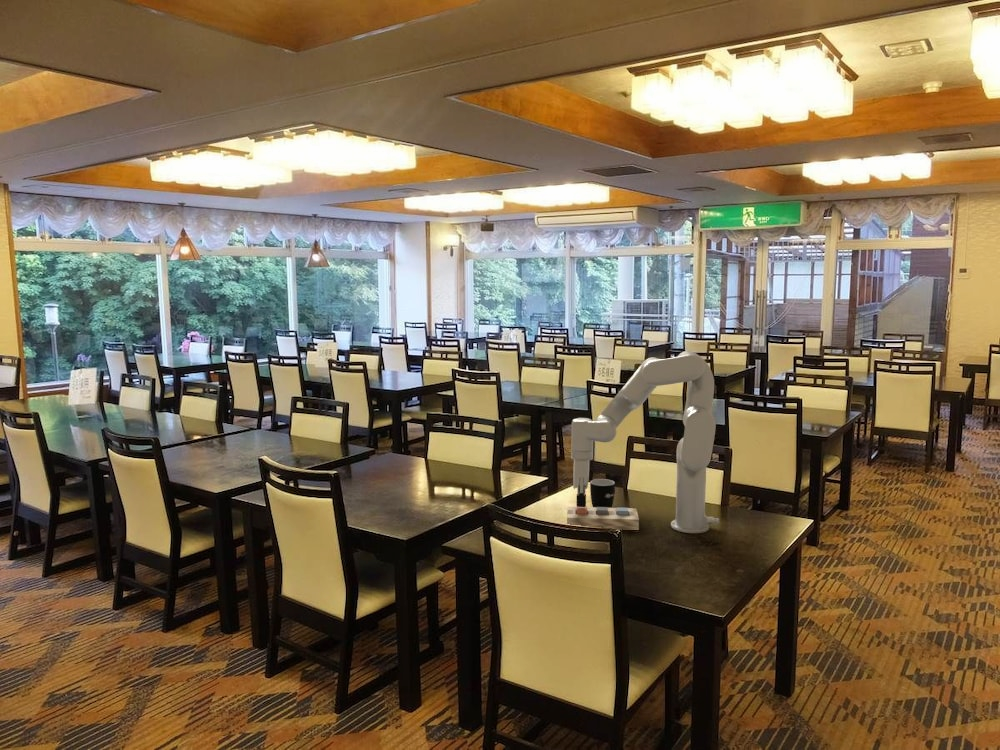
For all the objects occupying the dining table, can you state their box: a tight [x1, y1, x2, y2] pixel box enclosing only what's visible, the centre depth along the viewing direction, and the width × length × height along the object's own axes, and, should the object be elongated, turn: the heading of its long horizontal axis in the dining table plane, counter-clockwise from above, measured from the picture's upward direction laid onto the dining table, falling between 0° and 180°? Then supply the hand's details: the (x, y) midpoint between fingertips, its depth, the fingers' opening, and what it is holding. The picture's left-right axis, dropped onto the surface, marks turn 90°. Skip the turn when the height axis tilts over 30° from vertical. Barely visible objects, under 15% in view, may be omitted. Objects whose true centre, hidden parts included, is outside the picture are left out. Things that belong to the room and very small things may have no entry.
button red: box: [576, 506, 588, 514], centre depth 250 cm, size 4×4×3 cm
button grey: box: [597, 507, 608, 515], centre depth 249 cm, size 4×4×3 cm
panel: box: [566, 506, 640, 532], centre depth 249 cm, size 24×12×4 cm, turn 84°
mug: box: [589, 478, 616, 508], centre depth 267 cm, size 12×9×10 cm
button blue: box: [616, 507, 629, 516], centre depth 248 cm, size 4×4×3 cm
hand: (581, 506), depth 250 cm, fingers closed
